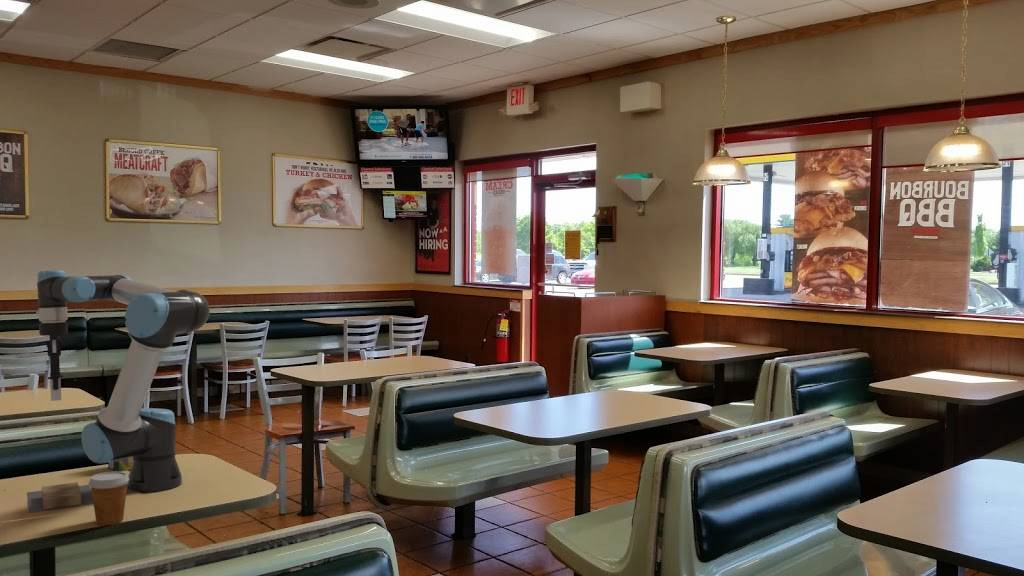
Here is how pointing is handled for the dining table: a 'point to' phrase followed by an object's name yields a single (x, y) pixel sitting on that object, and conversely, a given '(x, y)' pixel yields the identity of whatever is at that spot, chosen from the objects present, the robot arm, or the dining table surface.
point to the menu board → (61, 495)
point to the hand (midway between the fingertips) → (56, 400)
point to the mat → (37, 506)
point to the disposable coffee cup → (109, 496)
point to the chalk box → (121, 464)
